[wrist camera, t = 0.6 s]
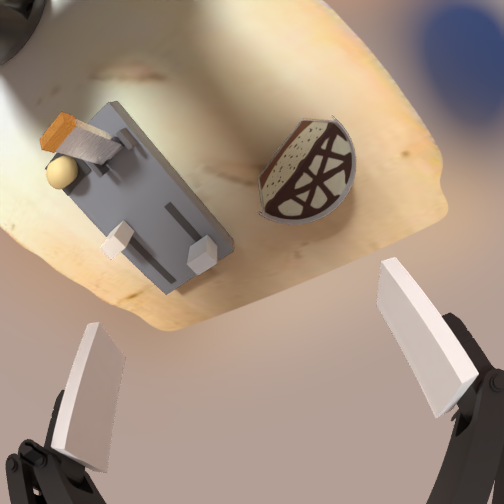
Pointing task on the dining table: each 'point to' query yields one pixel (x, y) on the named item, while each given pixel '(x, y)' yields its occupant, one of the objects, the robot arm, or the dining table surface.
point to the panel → (144, 203)
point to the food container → (308, 173)
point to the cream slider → (117, 240)
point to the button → (62, 172)
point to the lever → (80, 140)
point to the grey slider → (202, 255)
